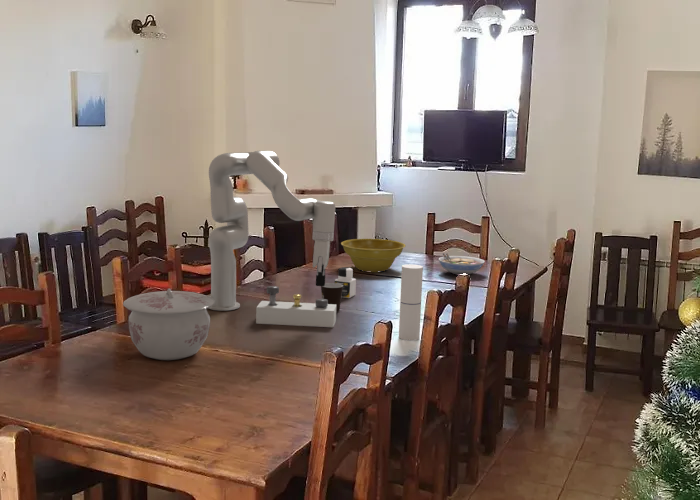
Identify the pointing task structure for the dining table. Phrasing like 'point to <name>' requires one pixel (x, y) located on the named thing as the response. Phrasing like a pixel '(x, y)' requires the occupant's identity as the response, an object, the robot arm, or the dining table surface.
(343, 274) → the medicine bottle
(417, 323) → the cylindrical container
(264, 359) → the dining table surface
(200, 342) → the chamber pot
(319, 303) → the knob
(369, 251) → the planter bowl
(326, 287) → the coffee mug
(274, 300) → the knob
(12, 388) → the dining table surface
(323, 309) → the mount
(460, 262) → the ramen bowl
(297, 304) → the brass dial
